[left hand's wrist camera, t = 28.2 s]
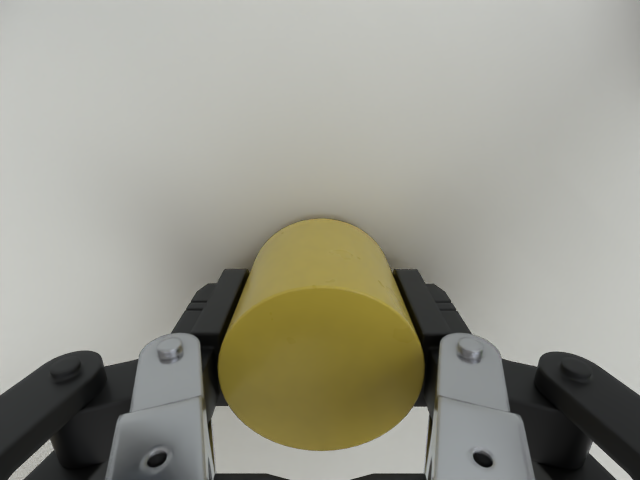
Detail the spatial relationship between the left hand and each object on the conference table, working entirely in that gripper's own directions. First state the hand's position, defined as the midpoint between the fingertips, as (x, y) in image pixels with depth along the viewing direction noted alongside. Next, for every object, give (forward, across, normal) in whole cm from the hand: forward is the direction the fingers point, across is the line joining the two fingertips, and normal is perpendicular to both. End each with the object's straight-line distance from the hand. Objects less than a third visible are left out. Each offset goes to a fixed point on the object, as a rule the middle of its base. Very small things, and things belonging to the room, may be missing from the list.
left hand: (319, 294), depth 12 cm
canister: (+1, 0, 0) cm, 1 cm away
